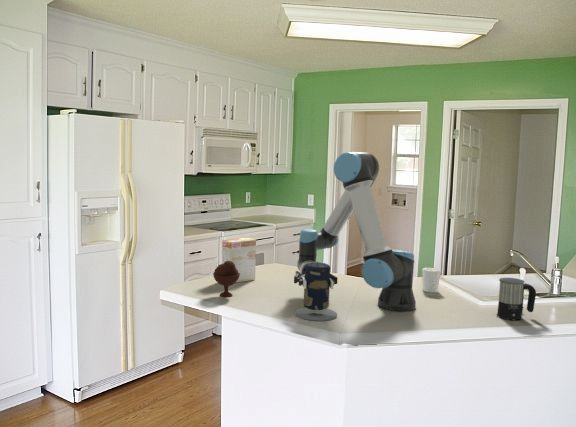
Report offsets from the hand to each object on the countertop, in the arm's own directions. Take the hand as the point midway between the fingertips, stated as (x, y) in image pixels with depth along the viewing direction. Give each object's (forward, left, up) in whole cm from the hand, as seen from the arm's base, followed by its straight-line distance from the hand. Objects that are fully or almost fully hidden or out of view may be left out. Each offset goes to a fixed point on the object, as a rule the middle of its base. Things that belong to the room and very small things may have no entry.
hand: (319, 285), depth 202 cm
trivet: (+3, -3, -12) cm, 13 cm away
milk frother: (-56, -55, -13) cm, 79 cm away
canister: (+3, -3, -10) cm, 11 cm away
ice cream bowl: (+46, -1, -13) cm, 47 cm away
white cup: (-18, -69, -13) cm, 73 cm away
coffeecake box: (+59, -25, -13) cm, 65 cm away
